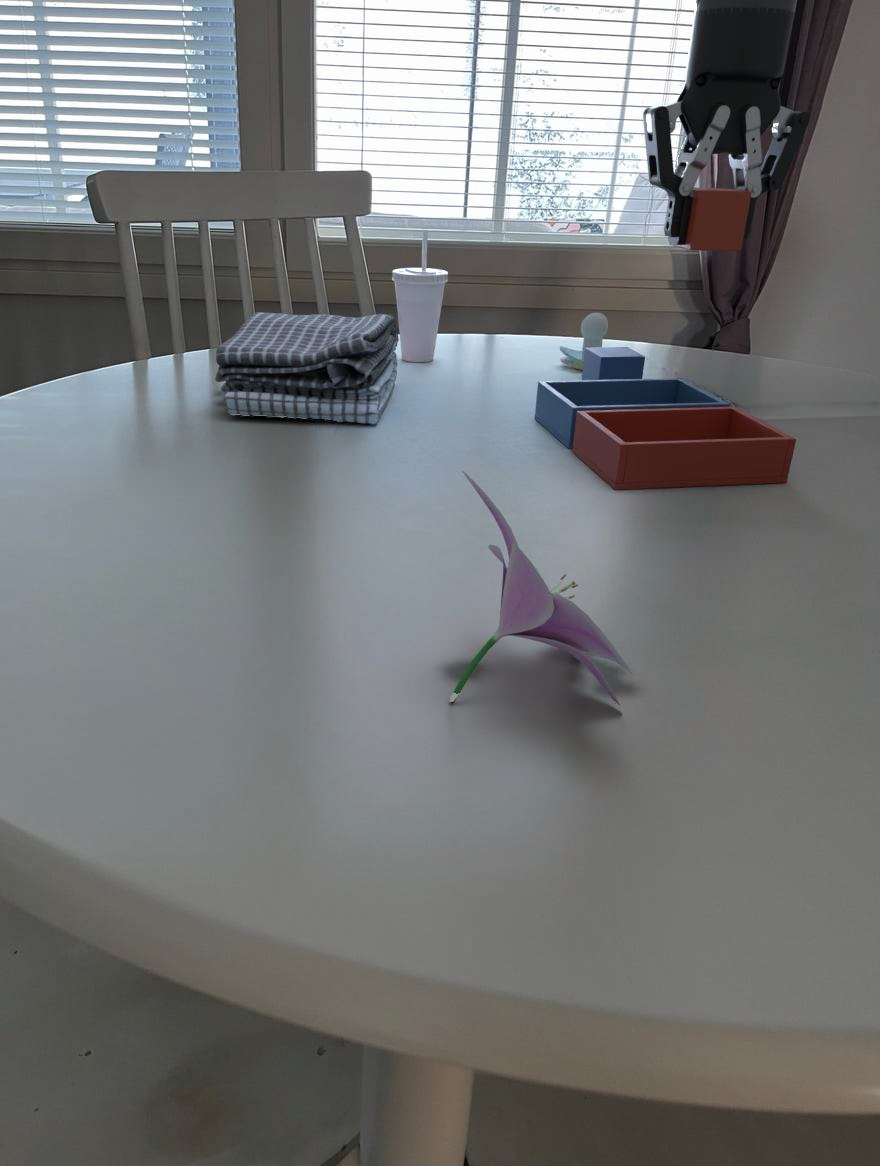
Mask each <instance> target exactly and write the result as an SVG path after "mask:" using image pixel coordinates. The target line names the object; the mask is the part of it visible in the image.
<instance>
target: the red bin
mask: <svg viewBox="0 0 880 1166" xmlns="http://www.w3.org/2000/svg"><path fill="white" fill-rule="evenodd" d="M796 443H797V438H795V437H794V436H792V435H790V434H788V433H786V432H784V431H782V430H781V429H778V428H776V427H775V426H773V425H771V424H769V423H768V422H765V421H763V420H762V419H759V418H758V417H755V415H752V414H750V413H748V412H746V411H744V410H742V409H740V408H739V407H737V406H730V407H704V408H666V409H629V410H592V411H577V415H576V424H575V433H574V442H573V449H571V452H572V453H573V454H574V455H575V456H576V457H577V458H578V459H579V460H580V461H582V462H583V463H584V464H585V465H586V466H587V467H589V468H590V469H591V470H592V471H593V472H594V473H595V474H596V475H598V476H599V477H600V478H601V479H602V480H603V481H604V482H605V483H607V484H608V485H609V486H610V487H611V488H612V489H613V490H614V491H617V490H618V491H619V490H645V489H665V488H666V489H667V488H668V489H669V488H687V487H688V488H689V487H690V488H692V487H713V486H736V485H737V486H739V485H761V484H765V485H766V484H785V483H787V482H788V479H789V475H790V469H791V465H792V462H793V461H792V460H793V456H794V452H795V447H796Z"/></svg>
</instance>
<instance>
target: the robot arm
mask: <svg viewBox="0 0 880 1166" xmlns="http://www.w3.org/2000/svg"><path fill="white" fill-rule="evenodd" d="M797 3H798V0H694V14H693V20H692V27H691V33H690V41H689V47H688V48H689V49H688V53H687V54H688V55H687V61H686V68H685V81H684V86H683V88H682V90H681V92H680V94H679V96H678V97H677V100H676V101H675V102H672V103H669V104H665V105H659V106H657V105H656V106H648V107H646V108H645V109H644V111H643V113H642V122H643V131H644V132H643V133H644V142H645V153H646V163H647V171H648V172H647V174H648V181H649V183H650V185H651V186H653V187H657V188H659V189H661V190H663V191H665V192H666V193H667V198H668V199H667V206H666V212H665V218H664V225H663V231H664V236H665V237H667V238H668V244H669V243H671V244H674V245H684V244H685V242H686V238H687V232H688V225H689V219H690V213H691V207H692V200H693V198H692V197H689V195H690V194H691V192H692V191H693V188H695V186H696V184H697V181H698V179H699V178H700V175H701V172H702V171H703V169H705V168H706V166H707V165H708V163H709V160H710V158H711V156H712V155H719V154H723V155H728V161H729V162H728V163H729V167H730V168H731V169H732V176H733V186H734V189H735V190H744V191H751V192H752V193H751V199H750V204H749V210H748V215H747V220H746V226H745V231H744V236H743V240H744V239H748V237H749V235H750V233H751V230H752V224H753V219H754V214H755V210H756V209H755V208H756V205H757V200H758V198H759V197H760V196H761V195H762V194H765V193H767V192H770V191H777V190H779V189H781V187H782V186H783V184H784V181H785V179H786V176H787V174H788V172H789V170H790V168H791V165H792V163H793V160H794V159H795V156H796V153H797V151H798V149H799V147H800V144H801V142H802V140H803V137H804V135H805V132H806V130H807V128H808V125H809V123H810V120H811V117H810V114H809V113H808V112H807V111H795V110H792V109H790V108H787V107H785V106H782V100H781V97H780V91H779V86H780V82H781V80H782V77H783V74H784V70H785V66H786V60H787V55H788V50H789V46H790V39H791V34H792V29H793V24H794V19H795V15H796V8H797ZM678 119H679V121H680V124H681V126H682V128H683V130H684V132H685V134H686V137H685V139H684V141H683V142H682V146H681V148H680V150H679V152H678V155H677V158H676V166H675V168H674V157H673V147H672V146H673V145H672V133H673V132H674V131H675V129H676V124H677V120H678ZM772 123H773V125H772ZM770 125H772V128H771V133H772V136H773V138H772V139H771V142H770V144H769V147H768V150H767V152H766V155H765V156H764V159H763V150H762V149H763V148H762V140H761V137H762V136H763V134H764V133H765V131H767V129H768V128H769V126H770ZM743 243H744V241H743V242H742V244H743Z"/></svg>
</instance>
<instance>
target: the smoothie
mask: <svg viewBox="0 0 880 1166" xmlns="http://www.w3.org/2000/svg"><path fill="white" fill-rule="evenodd" d="M428 235H429V230H428V229H422V240H421V241H422V242H421V267H403V268H401V267H400V268H396V269H393V270H392V272H391V273H392V278H391V281H393V282H394V288H395V299H396V311H397V321H398V333H399V342H400V353H401V360H403V361H406V362H410V363H429V362H433V360H434V357H435V350H436V343H437V338H438V332H439V325H440V320H441V319H440V318H441V312H442V305H443V301H444V300H443V299H444V293H445V285H446V283H448V282H449V279H448V277H449V272H448V271H446V270H443V269H440V268H431V267H430V268H429V267H428V268H427V264H428Z"/></svg>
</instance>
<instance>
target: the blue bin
mask: <svg viewBox="0 0 880 1166" xmlns="http://www.w3.org/2000/svg"><path fill="white" fill-rule="evenodd" d="M704 407H731V404H730V403H729V402H727V401H725V400H723V399H721V398H720V397H717V396H716V395H714V394H713V393H711V392H709V391H706V390H704V389H702V388H701V387H699V386H697V385H695V384H693V383H691V382H689V381H688V380H685V379H683V378H681V377H677V378H675V377H673V378H642V379H622V380H582V379H580V380H578V379H577V380H539V381H537V389H536V401H535V412H534V420H536V422H538V423H539V424H540V425H541V426H542V427H543V428H545V429H546V430H547V431H548V432H549V433H550V434H551V435H552V436H554V437H555V438H556V439H557V440H558V441H560V442H561V444H563V445H564V446H565V447H566V448H567V449H568V450H570V449H571V450H573V442H574V433H575V424H576V415H577V411H592V410H629V409H666V408H704Z"/></svg>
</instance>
